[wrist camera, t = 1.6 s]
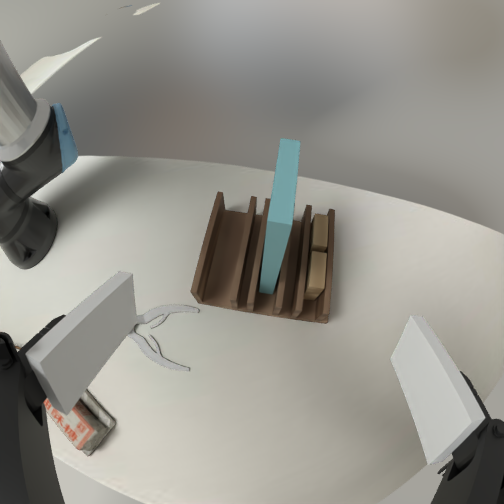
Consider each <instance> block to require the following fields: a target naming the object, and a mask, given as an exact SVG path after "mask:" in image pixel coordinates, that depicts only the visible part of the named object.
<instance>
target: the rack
mask: <svg viewBox="0 0 504 504" xmlns="http://www.w3.org/2000/svg"><path fill="white" fill-rule="evenodd" d="M256 200H257V197H254V196H251V200H250V205H249V209H248V213H242V212H235V211H228V210H225V205H224V197H223V192H218V193H217V196H216V199H215V203H214V206H213V210H212V213H211V217H210V220H209V224H208V227H207V231H206V234H205V238H204V242H203V245H202V249H201V253H200V257H199V260H198V264H197V268H196V272H195V276H194V280H193V284H192V288H191V293H192V295H193V296H194V298H195V299H196V300H197V302H198V303H200V304H205V305H211V306H216V307H221V308H227V309H232V310H238V311H243V312H249V313H255V314H262V315H268V316H274V317H281V318H288V319H295V320H302V321H309V322H317V323H325V324H326V323H327V322H328V315H329V311H330V299H331V286H332V271H333V252H334V221H335V210H333V209H329V211H328V214H327V216H328V240H327V248H326V250H325V251H324V253H327V258H326V273H325V286H324V290H323V291H322V292H321V293H320V294H319V295H318V297H317V298H316V299H315V300H314V301H313V300H306V299H303V298H304V289H305V280H306V270H307V260H308V249H309V237H310V226H311V210H312V206H311V205H306V208H305V212H304V215H303V218H302V221H301V222H300V221H294V220H293V222H292V227H291V231H290V235H289V238H288V242H287V246H286V249H285V253H284V257H283V260H282V264H281V267H280V271H279V274H278V278H277V281H276V285H275V288H274V292H273V294H266V293H260V292H259V289H260V280H261V271H262V263H263V254H264V245H265V236H266V227H267V219H268V213H269V207H270V201H271V199H268V198H266V200H265V206H264V211H263V216H262V215H256ZM294 206H295V204H294ZM293 215H294V213H293Z"/></svg>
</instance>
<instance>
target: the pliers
mask: <svg viewBox="0 0 504 504" xmlns="http://www.w3.org/2000/svg"><path fill="white" fill-rule="evenodd" d="M177 312H195V313H199V309H196V308H193V307H190V306H185V305H165V306H160V307H156V308H154V309H151V310H149V311H148V312H146V313H145V314H144V315H139V316H137V323H136V324H147V323H148V322H150V321H152V320H153V319H155V318H156V317H158V316H160V315H163V317H162V319H161V320H160V321H159V322H158V323H157V324H155V325H153V326H151V327H150V328H151V329H152V328H154V327H156V326H158V325H160V324H161V323H162V322H163V321H164V320H165V319H166V317H167V316H168V315H169V314H170V313H177ZM127 336H128V337H130V338H132V339H133V340H134V341H135V342H136V343H137V344H138V346H139V347H140V349H141V351H142V352H143V353H144V354H145V355H146V356H147V357H148V358H150V359H151V360H152V361H154V362H155V363H157V364H159V365H161V366H163V367H166V368H169V369H173V370H178V371H189V368H187V367H184V366H181V365H178V364H175V363H173V362H171V361H169V360H167V359H165V358H163V357H162V355H161V353H160V349H159V346H158V344H157V342H156V341H155V340H154V339H153V338H152V337H151V336H150V335H149V337H150V338H151V339H152V341H153V342H154V343H155V346H156V349H157V353H156V352H154V351H153V350H152V348H151V347H150V346H149V344H148V343H147V342H146V340H145V339H144V338H143V337H142V336H140V335H138V334H136V333H135V331H134V327H133V328H132V330H131V331H130V332H129V333H128V335H127Z"/></svg>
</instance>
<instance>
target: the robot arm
mask: <svg viewBox="0 0 504 504" xmlns="http://www.w3.org/2000/svg"><path fill="white" fill-rule="evenodd" d="M77 158H78V150H77V147H76V144H75V141H74V138H73V135H72V132H71V130H70V127H69V124H68V121H67V118H66V115H65V112H64V109H63V107H62V105H61V104H60V103H57V104H53V105H52V107H51V106H50V105H49V103H48V102H47V101H46V100H45V99H40V98H38V99H34V98H33V97H32V95H31V93H30V92H29V90H28V89H27V87H26V85H25V84H24V82H23V80H22V79H21V77H20V75H19V74H18V72H17V70H16V69H15V67H14V65H13V63H12V62H11V60H10V58H9V56H8V54H7V52H6V50H5V49H4V47H3V45H2V43H1V41H0V246H1V248H2V249H3V251H4V252H5V254H6V255H7V257H8V258H9V260H10V261H11V262H12V263H13V264H14V265H16V266H17V267H19V268H21V269H28V268H31V267H33V266H35V265H36V264H37V263H38V262H40V261H41V259H42V258H43V257H44V256H45V255H46V253H47V252H48V250H49V248H50V247H51V245H52V242H53V240H54V237H55V234H56V229H57V217H56V214H55V212H54V211H53V210H52V209H51V208H50V207H49V206H48V205H47V204H46V203H44V202H41V201H39V200H37V199H34V198H32V197H30V196H31V195H33V194H34V193H35V192H36V191H38V190H39V189H40V188H42V187H43V186H44V185H46V184H47V183H49V182H50V181H51V180H53V179H54V178H55V177H57V176H58V175H60V174H61V173H63V172H64V171H65V170H66V169H67V168H68V167H70V166H71V165H72V164H73V163H75V161H76V160H77ZM136 323H137V315H136V306H135V296H134V284H133V274H131V273H126V272H121V271H119V272H118V273H116V274H115V275H114V276H113V277H111V278H110V279H109V280H108V281H106V282H105V283H104V284H103V285H102V286H100V287H99V288H98V289H97V290H95V291H94V292H93V293H92V294H91V295H90V296H88V297H87V298H86V299H85V300H84V301H82V302H81V303H80V304H79V305H78V306H77V307H76V308H74V309H73V310H72V311H71V312H70V313H69V314H68V315H62V316H59V317H57V318H55V319H53V320H52V321H51V322H50V323H49V324H47V325H46V326H45V328H43V329H42V330H41V331H40V332H39V333H37V334H36V335H35V336H34V337H33V338H32V339H31V340H30V341H29V342H28V343H27V344H26V345H24V346H23V347H22V348H21V349H20V350H19V351H18V352H17V350H16V348H15V346H14V343H13V341H12V339H11V337H10V336H9V334H7V333H5V332H0V504H65V502H64V499H63V496H62V493H61V489H60V485H59V482H58V478H57V474H56V470H55V465H54V460H53V455H52V450H51V445H50V438H49V432H48V424H47V415H46V408H45V404H44V403H43V402H44V401H45V400H46V398H48V400H49V402H50V403H51V405H52V407H53V408H55V409H56V410H58V411H60V412H62V413H63V414H65V415H68V414H69V413H70V411H71V410H72V408H73V407H74V405H75V404H76V403H77V401H78V400H79V398H80V397H81V396H82V394H83V393H84V392H85V390H86V389H87V387H88V386H89V385H90V383H91V382H92V381H93V379H94V378H95V377H96V375H97V374H98V373H99V371H100V370H101V369H102V367H103V366H104V365H105V363H106V362H107V361H108V359H109V358H110V357H111V355H112V354H113V353H114V351H115V350H116V349H117V348H118V346H119V345H120V344H121V342H122V341H123V340H124V339H125V337H126V336H127V335H128V333H129V332H130V331H131V330H132V328H133V327H134V326H135V325H136ZM390 360H391V362H392V365H393V367H394V370H395V372H396V375H397V377H398V380H399V382H400V385H401V387H402V390H403V392H404V395H405V398H406V400H407V403H408V406H409V408H410V411H411V414H412V417H413V420H414V423H415V426H416V429H417V432H418V435H419V438H420V441H421V444H422V447H423V450H424V454H425V457H426V460H427V464H428V465H431V464H435V463H439V462H442V461H443V460H445V459H446V458H447V457H448V456H449V455H450V454H451V453H452V455H453V459H452V460H451V461H449V463H447V464H446V465H445V466H444V467H442V468H441V469H440V470H439V472H438V474H440V473H441V472H443V471H444V470H445V469H446V471H445V473H444V474H443V475H442V476H443V478H442V481H441V483H440V485H439V487H438V490H437V492H436V494H435V496H434V498H433V501H432V502H431V504H504V422H503V421H502V420H499V419H491V417H490V416H489V414H488V412H487V410H486V408H485V406H484V404H483V402H482V401H481V399H480V397H479V395H478V396H477V392H476V390H475V389H474V387H473V385H472V383H471V382H470V380H469V378H468V377H467V376H465V375H464V374H463V373H462V372H461V371H459V369H458V368H457V366H456V365H455V363H454V361H453V360H452V358H451V357H450V355H449V354H448V352H447V351H446V349H445V347H444V346H443V344H442V343H441V341H440V340H439V338H438V337H437V336H436V334H435V333H434V331H433V330H432V328H431V327H430V325H429V324H428V323H427V321H426V320H425V318H424V317H423V316H418V315H410V317H409V320H408V322H407V324H406V327H405V329H404V331H403V333H402V336H401V338H400V340H399V342H398V344H397V346H396V348H395V350H394V352H393V354H392V356H391V358H390Z"/></svg>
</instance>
